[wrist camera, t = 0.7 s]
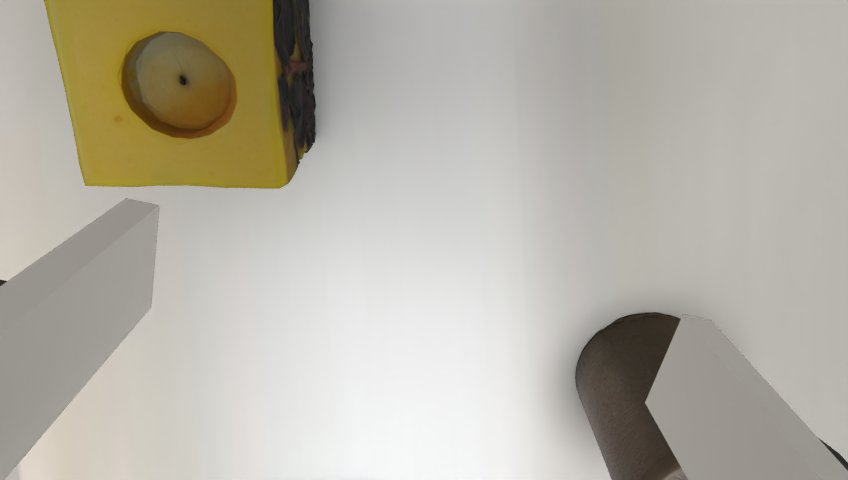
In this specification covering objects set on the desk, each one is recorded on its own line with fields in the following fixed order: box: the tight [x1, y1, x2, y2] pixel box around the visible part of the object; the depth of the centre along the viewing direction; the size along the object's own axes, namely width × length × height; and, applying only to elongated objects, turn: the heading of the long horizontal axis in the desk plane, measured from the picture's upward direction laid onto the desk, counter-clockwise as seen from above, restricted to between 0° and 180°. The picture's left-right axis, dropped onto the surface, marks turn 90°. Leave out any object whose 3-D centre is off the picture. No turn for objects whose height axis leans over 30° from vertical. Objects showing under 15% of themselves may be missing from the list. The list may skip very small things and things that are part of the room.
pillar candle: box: [576, 313, 688, 480], centre depth 38 cm, size 10×10×15 cm
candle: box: [44, 0, 316, 188], centre depth 32 cm, size 10×10×10 cm
